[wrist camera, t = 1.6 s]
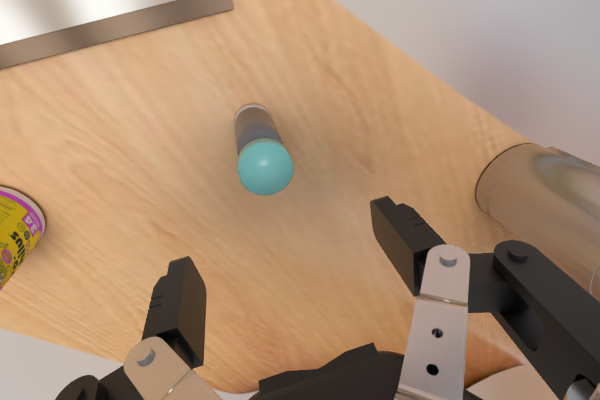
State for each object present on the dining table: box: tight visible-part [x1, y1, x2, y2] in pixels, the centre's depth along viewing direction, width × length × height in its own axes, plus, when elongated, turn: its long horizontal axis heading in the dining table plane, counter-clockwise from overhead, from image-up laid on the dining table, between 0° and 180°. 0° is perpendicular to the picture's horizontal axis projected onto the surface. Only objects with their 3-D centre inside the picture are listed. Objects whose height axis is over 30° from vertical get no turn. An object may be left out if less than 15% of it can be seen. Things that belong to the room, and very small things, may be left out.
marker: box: [234, 103, 293, 195], centre depth 24 cm, size 3×3×10 cm
